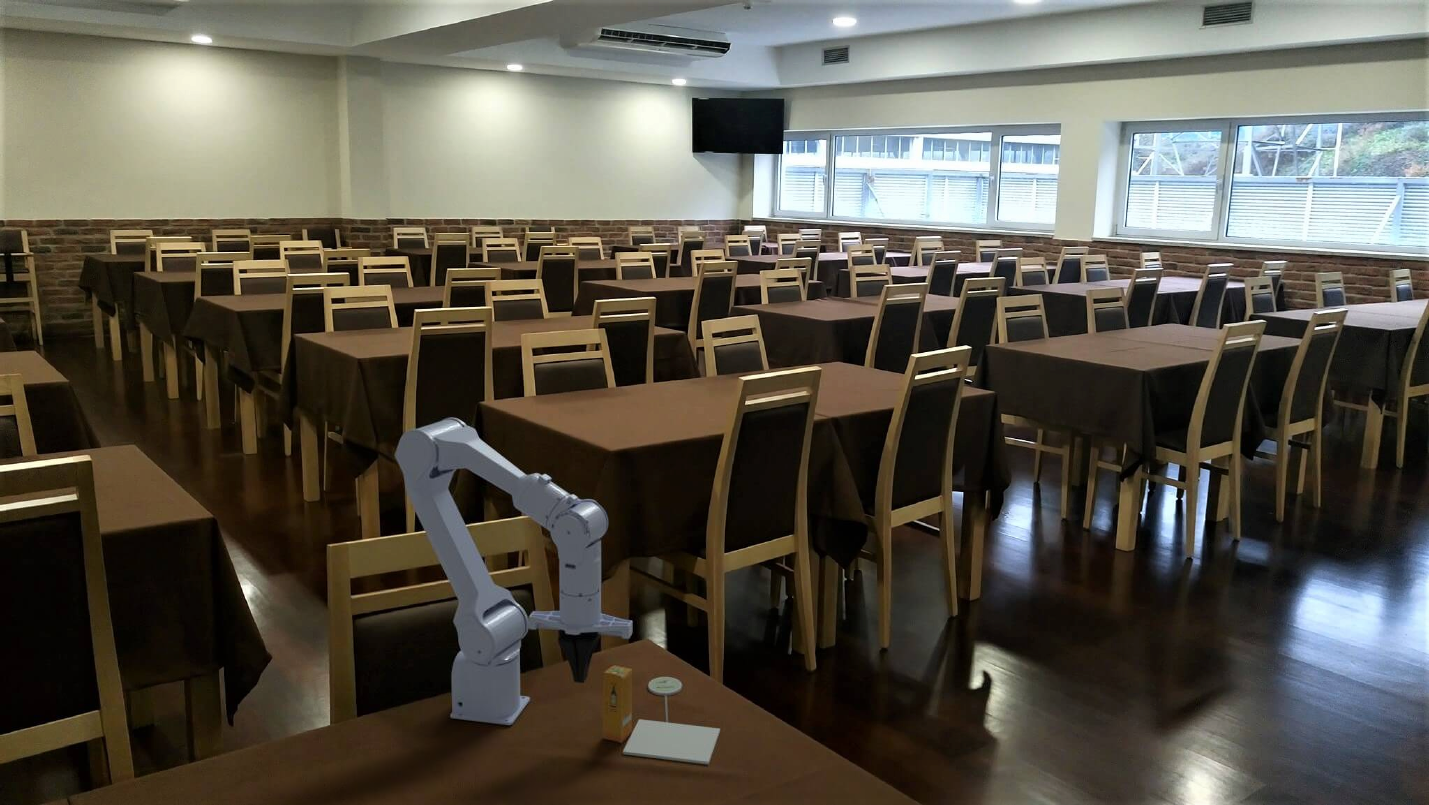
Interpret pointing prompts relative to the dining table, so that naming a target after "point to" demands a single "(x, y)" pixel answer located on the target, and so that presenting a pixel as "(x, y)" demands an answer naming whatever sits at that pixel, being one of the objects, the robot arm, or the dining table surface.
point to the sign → (665, 688)
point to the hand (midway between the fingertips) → (580, 679)
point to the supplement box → (617, 704)
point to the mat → (672, 741)
